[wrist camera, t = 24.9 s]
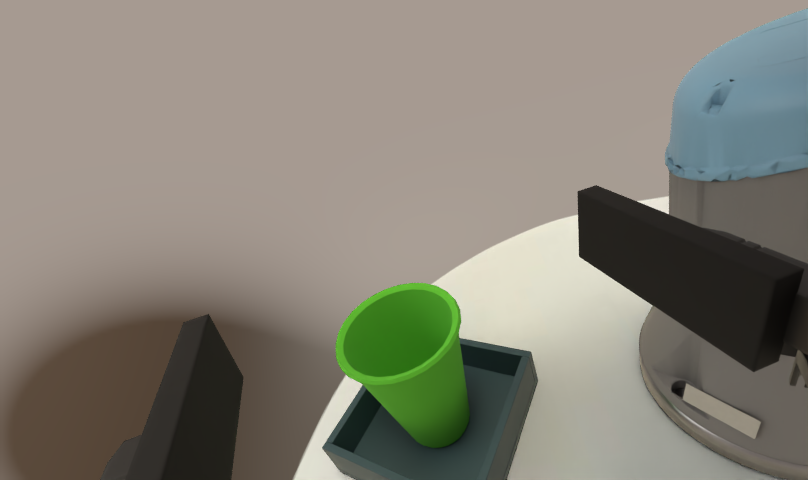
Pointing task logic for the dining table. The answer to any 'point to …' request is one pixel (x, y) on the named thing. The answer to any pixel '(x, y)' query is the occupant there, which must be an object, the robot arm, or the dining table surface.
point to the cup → (410, 359)
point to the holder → (465, 458)
